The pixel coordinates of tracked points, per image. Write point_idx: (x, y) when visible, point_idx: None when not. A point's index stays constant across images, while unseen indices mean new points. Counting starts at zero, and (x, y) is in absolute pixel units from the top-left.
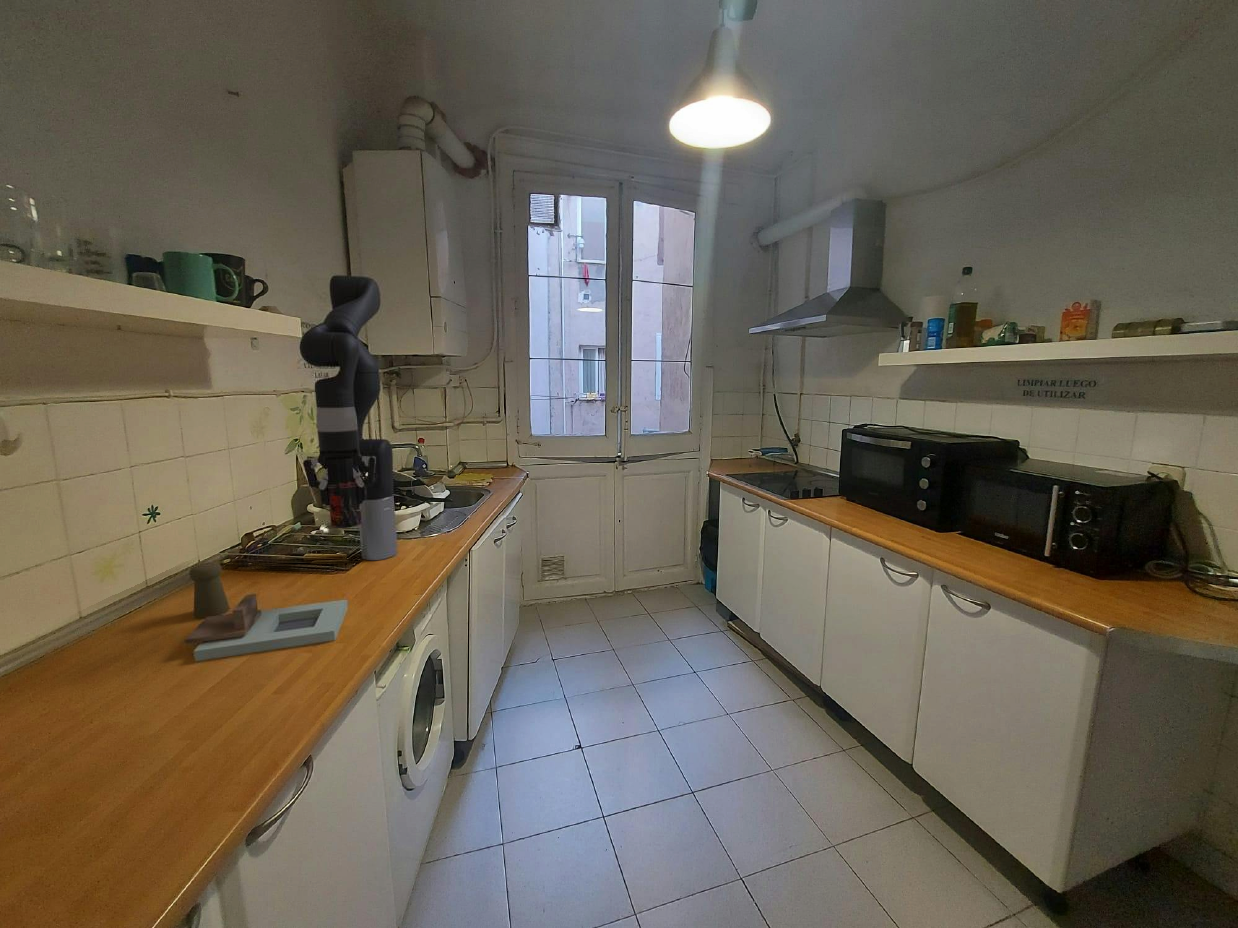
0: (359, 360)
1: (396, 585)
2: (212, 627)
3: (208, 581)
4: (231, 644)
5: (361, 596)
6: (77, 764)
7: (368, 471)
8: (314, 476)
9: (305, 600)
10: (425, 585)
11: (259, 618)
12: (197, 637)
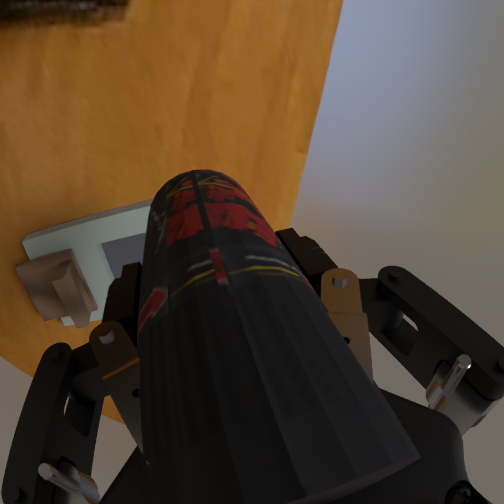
0: None
1: (255, 99)
2: (47, 296)
3: None
4: (95, 317)
5: (196, 142)
6: (109, 403)
7: (412, 370)
8: (59, 400)
9: (93, 152)
10: (311, 113)
11: (76, 256)
12: (52, 317)
